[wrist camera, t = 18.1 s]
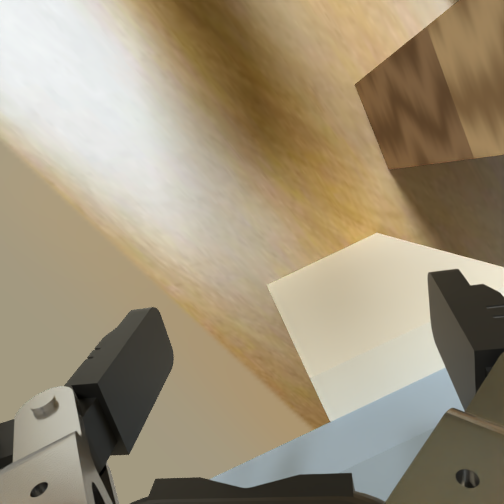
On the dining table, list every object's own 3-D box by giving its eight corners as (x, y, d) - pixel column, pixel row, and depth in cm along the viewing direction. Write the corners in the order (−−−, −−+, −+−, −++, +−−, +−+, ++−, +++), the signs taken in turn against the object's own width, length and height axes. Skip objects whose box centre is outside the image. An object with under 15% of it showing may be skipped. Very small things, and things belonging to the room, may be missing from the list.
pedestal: (266, 285, 47) (309, 378, 24) (376, 232, 47) (529, 274, 24) (301, 359, 49) (374, 515, 25) (408, 308, 49) (580, 418, 25)
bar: (204, 481, 24) (201, 537, 20) (605, 291, 24) (679, 311, 20) (234, 534, 25) (236, 599, 21) (623, 350, 25) (699, 380, 21)
